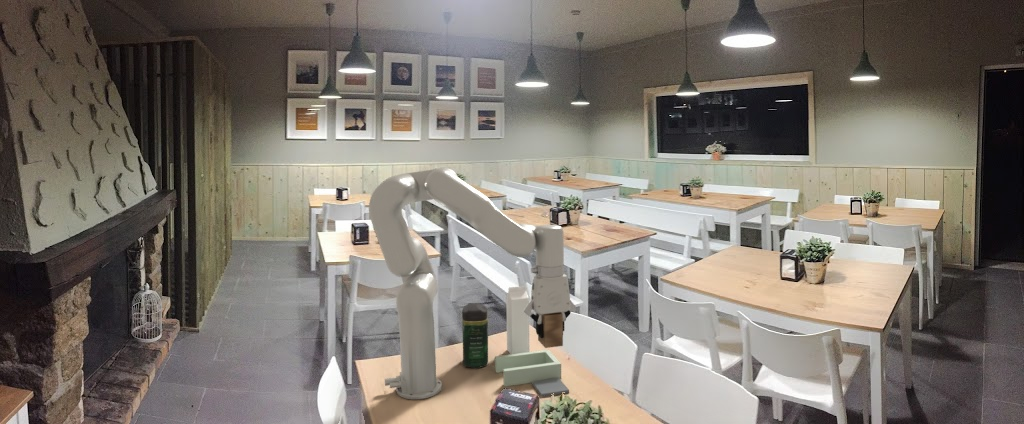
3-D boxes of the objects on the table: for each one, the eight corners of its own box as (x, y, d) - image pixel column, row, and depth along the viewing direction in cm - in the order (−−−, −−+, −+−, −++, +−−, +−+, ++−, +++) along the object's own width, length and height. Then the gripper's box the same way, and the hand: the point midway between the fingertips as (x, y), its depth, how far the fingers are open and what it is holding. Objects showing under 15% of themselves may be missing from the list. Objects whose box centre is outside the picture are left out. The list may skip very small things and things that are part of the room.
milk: (529, 354, 175) (529, 288, 172) (511, 357, 173) (511, 290, 170) (524, 347, 180) (523, 283, 177) (506, 349, 179) (505, 285, 176)
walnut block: (545, 348, 145) (545, 315, 144) (538, 340, 151) (537, 309, 150) (562, 345, 147) (562, 313, 146) (555, 338, 153) (554, 307, 151)
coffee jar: (489, 368, 164) (488, 309, 162) (463, 370, 164) (461, 310, 161) (488, 356, 174) (486, 300, 171) (463, 357, 173) (461, 301, 171)
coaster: (541, 396, 146) (541, 394, 146) (532, 384, 153) (532, 381, 153) (569, 392, 148) (569, 389, 148) (558, 380, 156) (558, 377, 156)
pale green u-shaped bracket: (504, 386, 152) (504, 371, 152) (495, 370, 163) (494, 356, 162) (561, 378, 157) (561, 363, 156) (548, 363, 167) (548, 349, 167)
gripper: (523, 276, 140) (524, 343, 143) (584, 271, 145) (584, 336, 147) (515, 270, 147) (516, 334, 150) (573, 265, 152) (573, 327, 155)
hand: (550, 334), depth 149 cm, fingers closed on walnut block, 5 cm apart
